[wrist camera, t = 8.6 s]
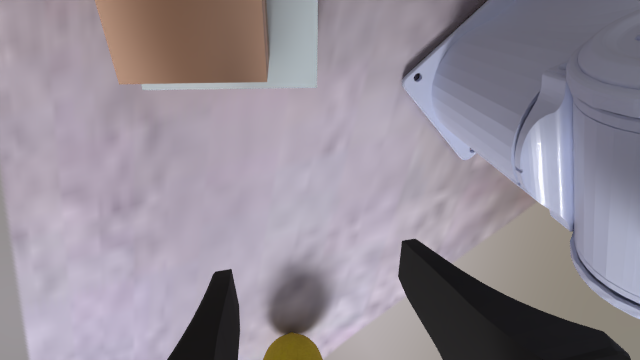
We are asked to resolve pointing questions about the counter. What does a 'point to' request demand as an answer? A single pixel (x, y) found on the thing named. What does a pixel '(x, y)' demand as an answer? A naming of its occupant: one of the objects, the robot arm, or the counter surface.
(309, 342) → the lemon
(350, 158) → the counter surface
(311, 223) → the counter surface
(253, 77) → the block
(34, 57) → the counter surface
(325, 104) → the counter surface
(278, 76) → the tower top
